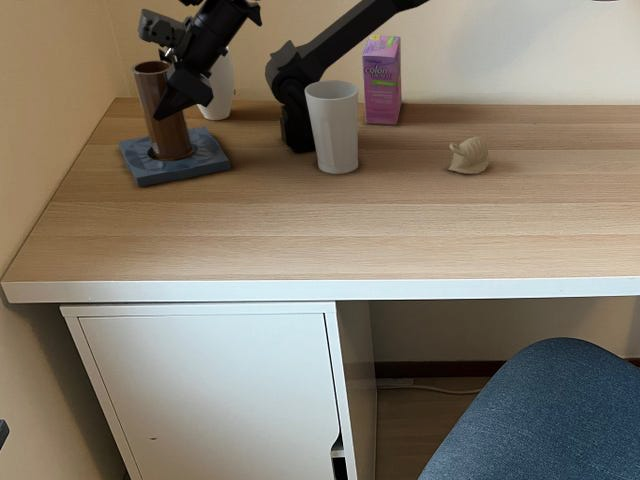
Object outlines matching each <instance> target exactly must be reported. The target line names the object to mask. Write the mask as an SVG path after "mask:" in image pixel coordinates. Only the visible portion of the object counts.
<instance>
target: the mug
mask: <svg viewBox="0 0 640 480" xmlns="http://www.w3.org/2000/svg"><path fill="white" fill-rule="evenodd" d="M226 48H227V50H228V53H227V54H226V56H225V57H223V56H222V55H220V57H219V58H218V60H217V61H216V62H215V64H214V65H213V66H212V68H211V72H212V75H211V76H210V78H209V79H208V80H209V82H210V84H211V87H212V91H213V96H214V98H213V100H212V101H211V102H210V104H209V105H208V106H207V108H206V107H203V106H202V105H199V104H196V106H197V107H198V109H199V111H200V112H201V113H202V116H203V117H204V118H205V119H207V120H209V121H221V120H224V119H227V118H228V117H229V116H230V113H231V108H232V103H233V98H234V97H233V96H234V92H235V72H234V66H233V61H232V54H231V50H230V47H229V45H228V46H227V47H226ZM201 75H202V74H201ZM202 76H203V75H202ZM204 77H205V76H204ZM205 78H206V77H205ZM206 79H207V78H206Z"/></svg>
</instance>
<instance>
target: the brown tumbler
mask: <svg viewBox="0 0 640 480" xmlns="http://www.w3.org/2000/svg"><path fill="white" fill-rule="evenodd" d="M170 66H171V63H170V62H167V61H162V60H160V59H153V60H151V59H149V60H144V61H140V62H137V63H136V64H134V65H132V66H131V69H130V71H131V74H132V78H133V82H134V85H135V90H136V93H137V96H138V100H139V105H140V108H141V112H142V115H143V118H144V122H145V127H146V130H147V134H148V136H149V138H150V141H151V145H152V149H153V151H154V154H155V155H154V156H156V158H160V159H164V160H165V159H166V160H174V159H179V158H183V157H186V156H188V155H190V154H191V153H192V152H193V151H192V146H191V140H190V136H189V132H188V130H189V127H188V123H187V119H186V115H185V111H184V110H185V109H184V110H182V111H180V112H177V113H175V114H173V115H171V116H169V117H167V118H165V119H163V120H161V121H157V120H156V119H154V118H153V113H154V111H155V109H156V107H157V104H158V102H159V100H160V98H161V96H162V94H163V92H164V90H165V88H166V81H165V77H164V73H163V71H165V72H167V71H168V69H169V67H170Z"/></svg>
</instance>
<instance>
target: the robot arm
mask: <svg viewBox="0 0 640 480" xmlns="http://www.w3.org/2000/svg"><path fill="white" fill-rule="evenodd" d="M177 1H178V2H180V3H181V4H182V5H183V6H185V7H189V6H193V7H198V6H200V5H201V6H200V8H199V9H198V10H197V12H196V13H195V15H194V16H192V15H189V16H186V17H185V18H184V19H183V21H180V20H177V19H174V18H173V17H170V16H167V15H164V14H161V13H159V12H156V11H153V10H150V9H148V8H141V10H140V11H141V12H140V17H139V21H138V26H137V33H138V38H139V39H140V40H142V41H144V42H146V43H154V44H157V45H158V46H159V47H160V48H157V53H158V57H159V60H162V61H167V62H170V63H171V66H170V67H169V69H168V71H167V72H165V71H163V73H164V77H165V81H166V88H165V90H164V92H163V94H162V96H161V98H160V100H159V102H158V104H157V107H156V109H155V111H154V113H153V118H154V119H156V120H157V121H161V120H163V119H165V118H167V117H169V116H171V115H173V114H175V113H177V112H180V111H182V110H187V109H189V108H192V107H194V106H197V104H199V105H202V106H203V107H206V108H207V106H208V105H209V104H210V102H211V101H212V100H213V98H214V96H213V91H212V87H211V84H210V82H209V80H208V79H209V78H210V76H211V75H212V72H211V68H212V66H213V65H214V64H215V62H216V61H217V60H218V58H219V57H220V55H222V56H223V57H225V56H226V54H227V53H228V50H227V48H226V47H227V46H228V47H229V45H230V43H231V42H232V40H233V39H234V38H235V36H236V35H237V34H238V33H239V31H240V30H241V28H242V27H243V25H244V24H245V22H246V21H248V19H249V20H250V21H251V22H252V23H254V24H255V25H256V26H257V27H262V26H263V21H262V17H261V9H262V7H261V5H260V4H259V1H260V0H254V1H255V2H250V1H248V0H177ZM430 1H431V0H360V1H359V2H357V3H356V4H355V5H354V6H353V7H351V8H350V9H349V10H348V11H346V12H345V13H344V14H342V15H341V16H340V17H339V18H338V19H336V20H335V21H333V22H332V23H331V24H330V25H328V27H326V28H325V29H324V30H323V31H321V32H320V33H319V34H317V35H316V36H315V37H314V38H313V39H311V40H310V41H309V42H307V43H305V44H301V45H298V46H295V45H294V43H293V41H292V39H288V40H287V41H286V42H285V43H283V45H282V46H281V47H280V48H279V49H278V50H276V51H275V52H271V53H269V57H270V59H269V60H268V61H267V62H266V65H265V68H264V77H265V81H266V83H267V85H268V87H269V90H270V91H271V93H272V96H273V97H274V99H275V100H276V101H278V103H280V104H282V105H280V111H281V115H279V117H278V119H279V126H280V133H281V140H282V142H283V143H284V144H285V145H286V146H287V147H288V148H289V149H290V151H292V153H294V154H298V153H303V152H308V151H313V150H316V147H315V142H314V136H313V131H312V126H311V120H310V115H309V110H308V105H307V100H306V96H305V88H306V87H307V86H308V85H310V84H312V83H315V82H319V81H321V79H322V77H323V76H324V74H325V72H326V71H327V70H328V69H329V68H330V67H332V65H334V64H335V63H337V61H339V60H340V59H341V58H342V57H344V56H345V55H346V54H347V53H349V52H350V51H351V50H352V49H354V48H355V47H356V46H357V45H359V44H360V43H361V42H363V41H364V40H365V39H366V38H368V36H369V35H372V34H373V33H374V32H376V30H378V29H379V28H381V27H382V26H383V25H384V24H385V23H387V22H388V21H389V20H391V19H392V18H393V17H394V16H395V15H397V14H399V13H402V12H406V11H410V10H412V9H416V8H419V7H420V6H422V5H424V4H426V3H428V2H430ZM163 48H165V49H164V50H162V49H163ZM201 74H202V75H203V76H202V75H201ZM204 76H205V77H206V78H207V79H206V78H205V77H204Z"/></svg>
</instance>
